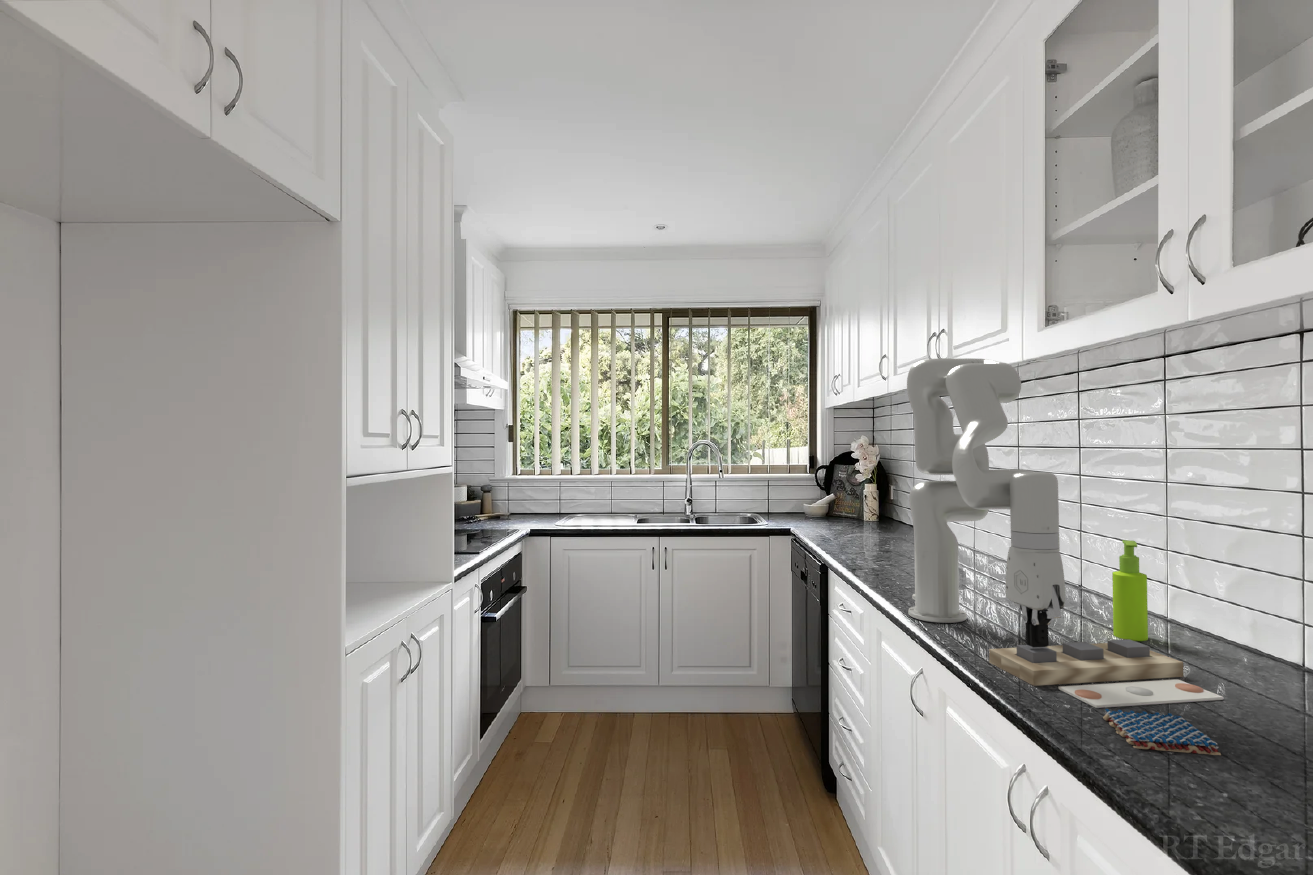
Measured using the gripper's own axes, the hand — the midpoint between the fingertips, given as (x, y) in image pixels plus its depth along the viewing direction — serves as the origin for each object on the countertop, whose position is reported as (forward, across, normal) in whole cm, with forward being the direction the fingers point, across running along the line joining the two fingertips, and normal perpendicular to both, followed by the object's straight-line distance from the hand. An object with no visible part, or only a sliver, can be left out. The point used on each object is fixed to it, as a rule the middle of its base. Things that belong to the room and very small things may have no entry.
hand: (1037, 645), depth 119 cm
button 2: (+3, 0, +9) cm, 10 cm away
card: (+5, +12, +9) cm, 15 cm away
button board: (+5, 0, +9) cm, 10 cm away
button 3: (+3, 0, +18) cm, 18 cm away
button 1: (+3, 0, 0) cm, 3 cm away
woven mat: (+6, +26, -1) cm, 26 cm away
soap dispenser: (+5, -16, +33) cm, 37 cm away
